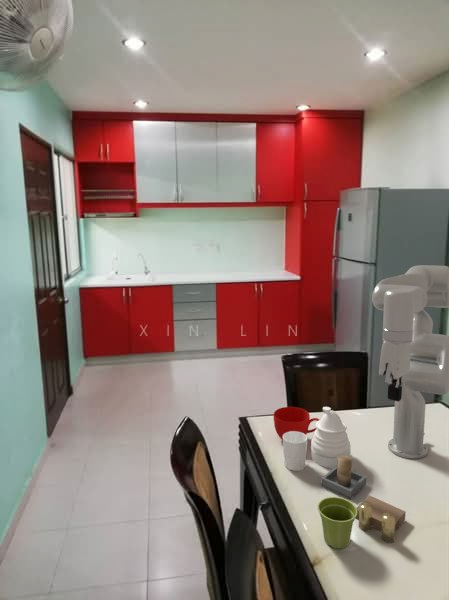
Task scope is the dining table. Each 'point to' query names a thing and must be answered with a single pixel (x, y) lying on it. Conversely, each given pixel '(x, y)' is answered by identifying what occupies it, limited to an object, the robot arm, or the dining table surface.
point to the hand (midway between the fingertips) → (394, 399)
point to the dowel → (344, 470)
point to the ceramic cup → (292, 420)
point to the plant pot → (337, 520)
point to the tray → (348, 492)
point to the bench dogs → (387, 522)
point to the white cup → (294, 450)
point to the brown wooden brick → (381, 508)
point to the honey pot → (329, 440)
